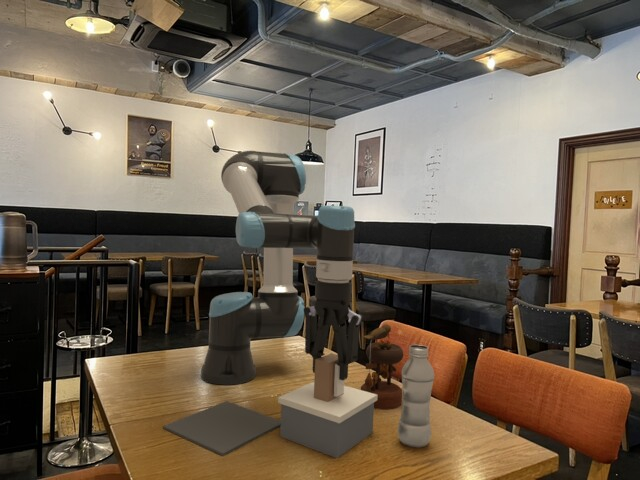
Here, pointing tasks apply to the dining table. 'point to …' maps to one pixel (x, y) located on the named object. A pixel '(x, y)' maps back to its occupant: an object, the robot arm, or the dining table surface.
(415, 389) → the plastic bottle
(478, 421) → the dining table surface
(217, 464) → the dining table surface
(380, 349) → the music box
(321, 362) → the lid
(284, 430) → the box
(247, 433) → the mat
